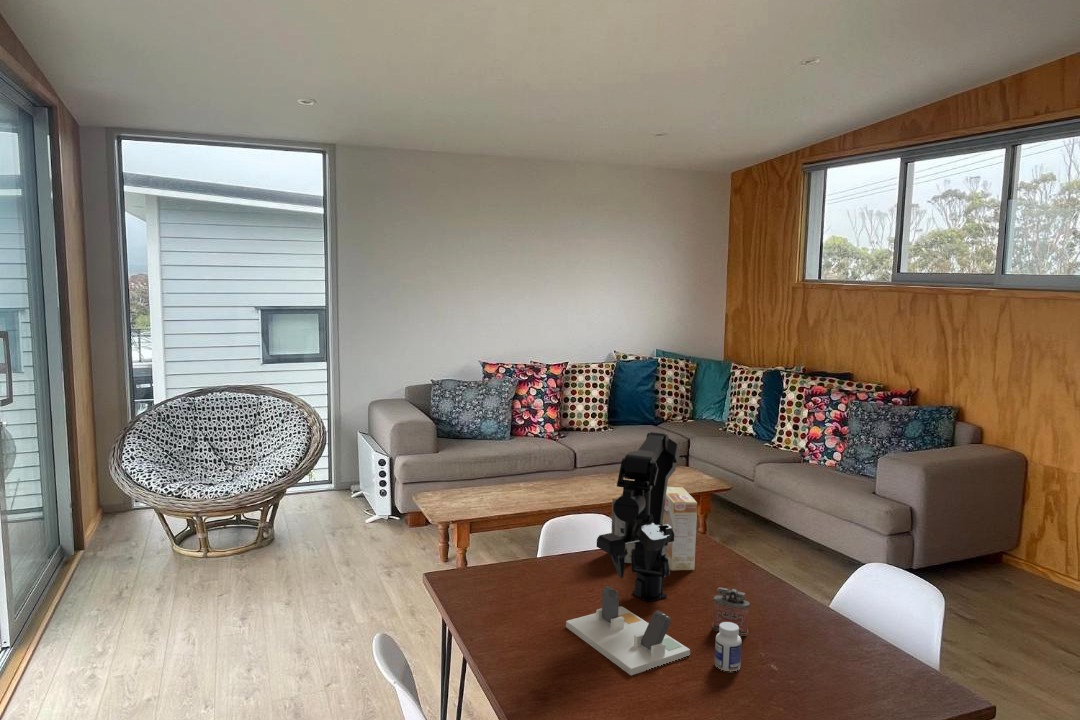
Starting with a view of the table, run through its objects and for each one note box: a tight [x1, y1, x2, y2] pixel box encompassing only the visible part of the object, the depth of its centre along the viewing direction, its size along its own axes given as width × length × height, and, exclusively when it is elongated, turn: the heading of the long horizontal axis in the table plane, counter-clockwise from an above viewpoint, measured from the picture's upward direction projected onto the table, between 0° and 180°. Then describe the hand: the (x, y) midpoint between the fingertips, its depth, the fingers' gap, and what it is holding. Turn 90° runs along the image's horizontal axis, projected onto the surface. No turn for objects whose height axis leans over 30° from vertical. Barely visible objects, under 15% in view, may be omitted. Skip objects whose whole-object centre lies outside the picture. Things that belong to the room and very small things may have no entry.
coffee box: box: [610, 498, 635, 564], centre depth 216 cm, size 9×6×16 cm
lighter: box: [711, 587, 751, 635], centre depth 173 cm, size 8×3×10 cm, turn 65°
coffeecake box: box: [662, 486, 698, 571], centre depth 215 cm, size 15×7×20 cm, turn 5°
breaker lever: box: [601, 585, 620, 624], centre depth 172 cm, size 2×4×8 cm, turn 31°
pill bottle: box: [714, 622, 742, 673], centre depth 158 cm, size 5×5×9 cm
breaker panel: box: [565, 605, 691, 676], centre depth 167 cm, size 16×24×9 cm, turn 31°
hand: (634, 573), depth 175 cm, fingers open, 8 cm apart
